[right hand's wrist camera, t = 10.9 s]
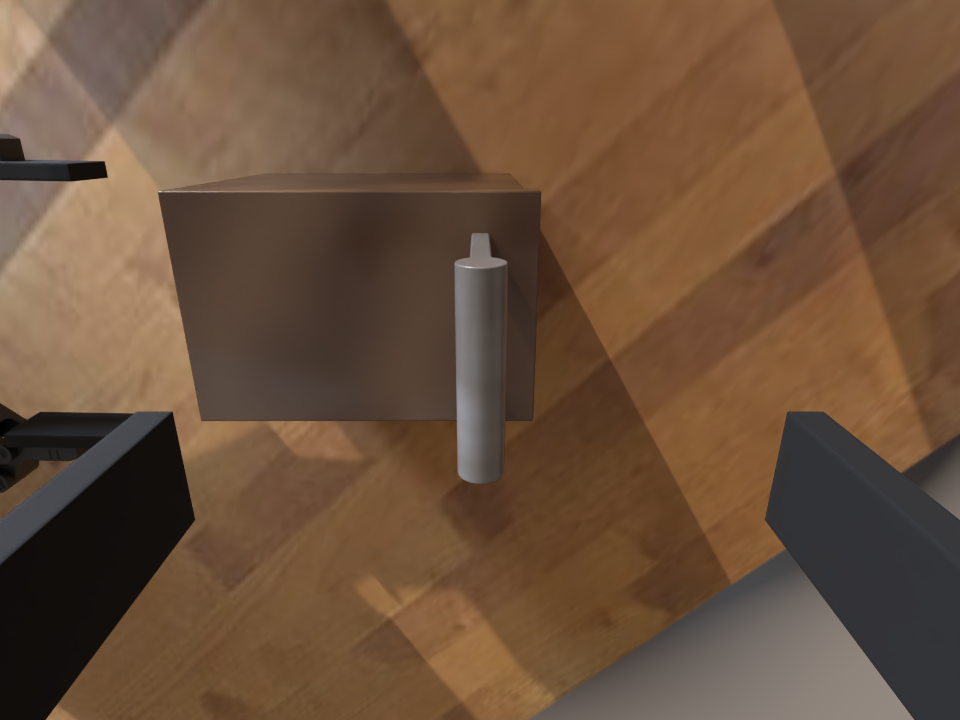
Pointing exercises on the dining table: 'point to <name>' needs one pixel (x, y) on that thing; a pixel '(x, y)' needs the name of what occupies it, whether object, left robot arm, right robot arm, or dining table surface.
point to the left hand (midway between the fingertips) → (119, 311)
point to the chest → (366, 181)
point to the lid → (362, 307)
